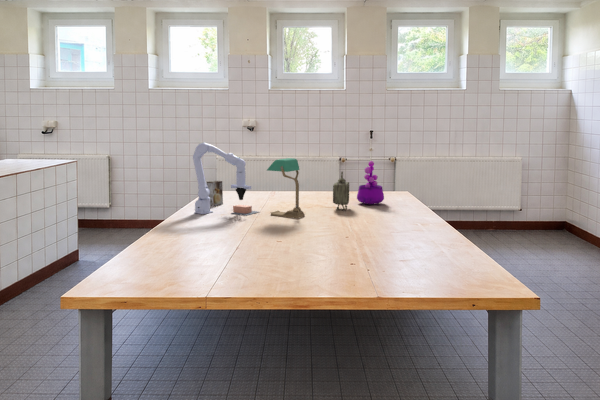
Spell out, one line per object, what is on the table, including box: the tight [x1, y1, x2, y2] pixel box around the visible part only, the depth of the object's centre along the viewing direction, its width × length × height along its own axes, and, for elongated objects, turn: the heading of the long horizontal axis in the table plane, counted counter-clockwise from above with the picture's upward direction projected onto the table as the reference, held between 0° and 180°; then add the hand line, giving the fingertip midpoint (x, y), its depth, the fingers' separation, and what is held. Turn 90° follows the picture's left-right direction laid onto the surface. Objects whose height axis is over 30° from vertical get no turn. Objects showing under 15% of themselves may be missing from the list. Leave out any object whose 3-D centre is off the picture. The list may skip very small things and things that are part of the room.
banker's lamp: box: [266, 157, 306, 219], centre depth 347 cm, size 16×21×35 cm
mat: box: [230, 210, 260, 217], centre depth 358 cm, size 14×12×1 cm
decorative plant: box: [356, 160, 385, 205], centre depth 393 cm, size 19×18×30 cm
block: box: [232, 204, 253, 214], centre depth 359 cm, size 6×4×10 cm
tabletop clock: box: [332, 170, 350, 211], centre depth 372 cm, size 14×9×25 cm, turn 168°
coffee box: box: [206, 180, 224, 207], centre depth 389 cm, size 9×6×16 cm
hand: (241, 199), depth 358 cm, fingers closed
